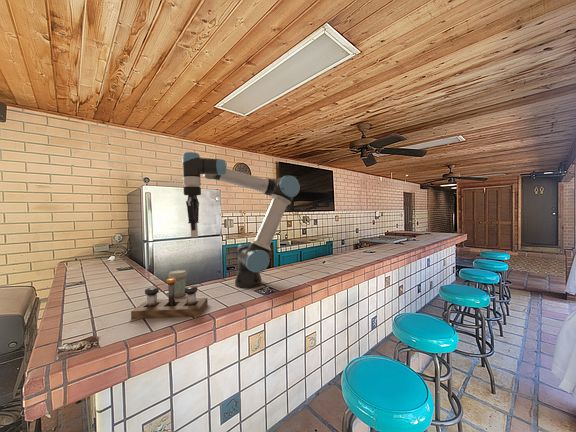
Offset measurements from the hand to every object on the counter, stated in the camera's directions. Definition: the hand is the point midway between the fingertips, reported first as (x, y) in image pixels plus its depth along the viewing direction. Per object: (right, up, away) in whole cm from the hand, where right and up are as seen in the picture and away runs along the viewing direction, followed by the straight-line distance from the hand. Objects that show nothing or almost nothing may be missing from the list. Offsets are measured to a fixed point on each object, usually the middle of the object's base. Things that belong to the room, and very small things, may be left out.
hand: (194, 237), depth 111 cm
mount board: (-5, -30, -12) cm, 33 cm away
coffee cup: (-11, -30, +7) cm, 33 cm away
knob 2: (+3, -30, -11) cm, 32 cm away
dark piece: (-5, -27, -12) cm, 30 cm away
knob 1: (-13, -30, -12) cm, 35 cm away
